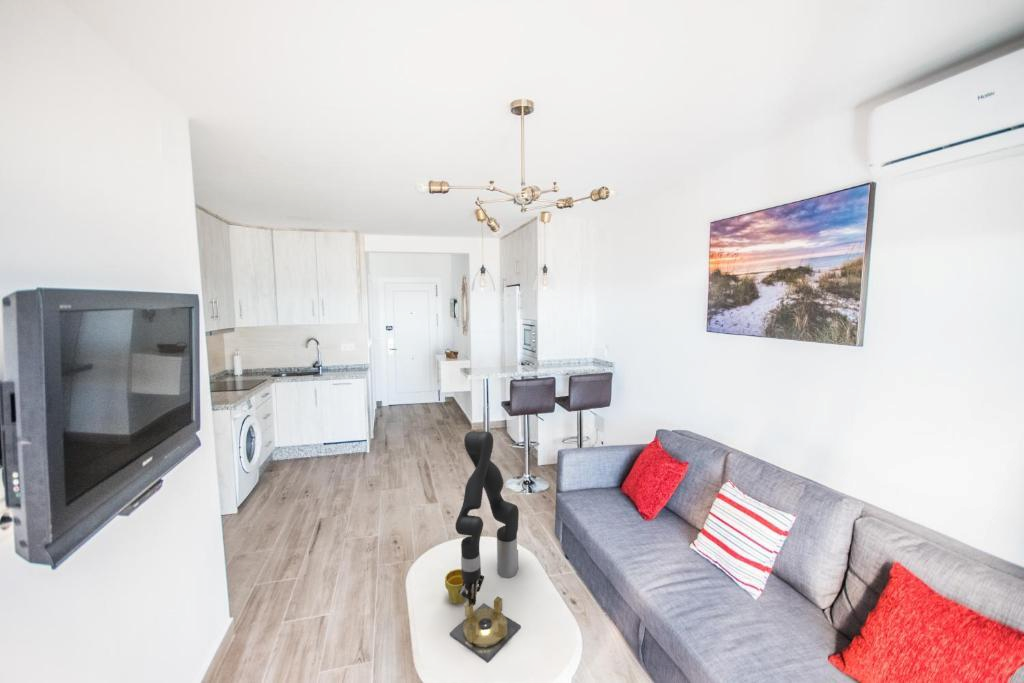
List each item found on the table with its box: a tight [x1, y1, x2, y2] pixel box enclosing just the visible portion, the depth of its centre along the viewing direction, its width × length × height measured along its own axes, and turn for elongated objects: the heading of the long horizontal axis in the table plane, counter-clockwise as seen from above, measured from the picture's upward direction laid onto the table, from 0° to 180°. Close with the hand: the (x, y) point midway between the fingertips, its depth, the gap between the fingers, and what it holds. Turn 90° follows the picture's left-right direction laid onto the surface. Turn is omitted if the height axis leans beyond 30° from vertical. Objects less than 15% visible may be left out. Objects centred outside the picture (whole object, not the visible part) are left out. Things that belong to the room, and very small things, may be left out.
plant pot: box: [444, 568, 467, 605], centre depth 174 cm, size 10×10×10 cm
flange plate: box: [449, 602, 522, 663], centre depth 157 cm, size 19×19×1 cm
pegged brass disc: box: [463, 596, 507, 647], centre depth 157 cm, size 19×19×6 cm
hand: (472, 604), depth 163 cm, fingers closed
